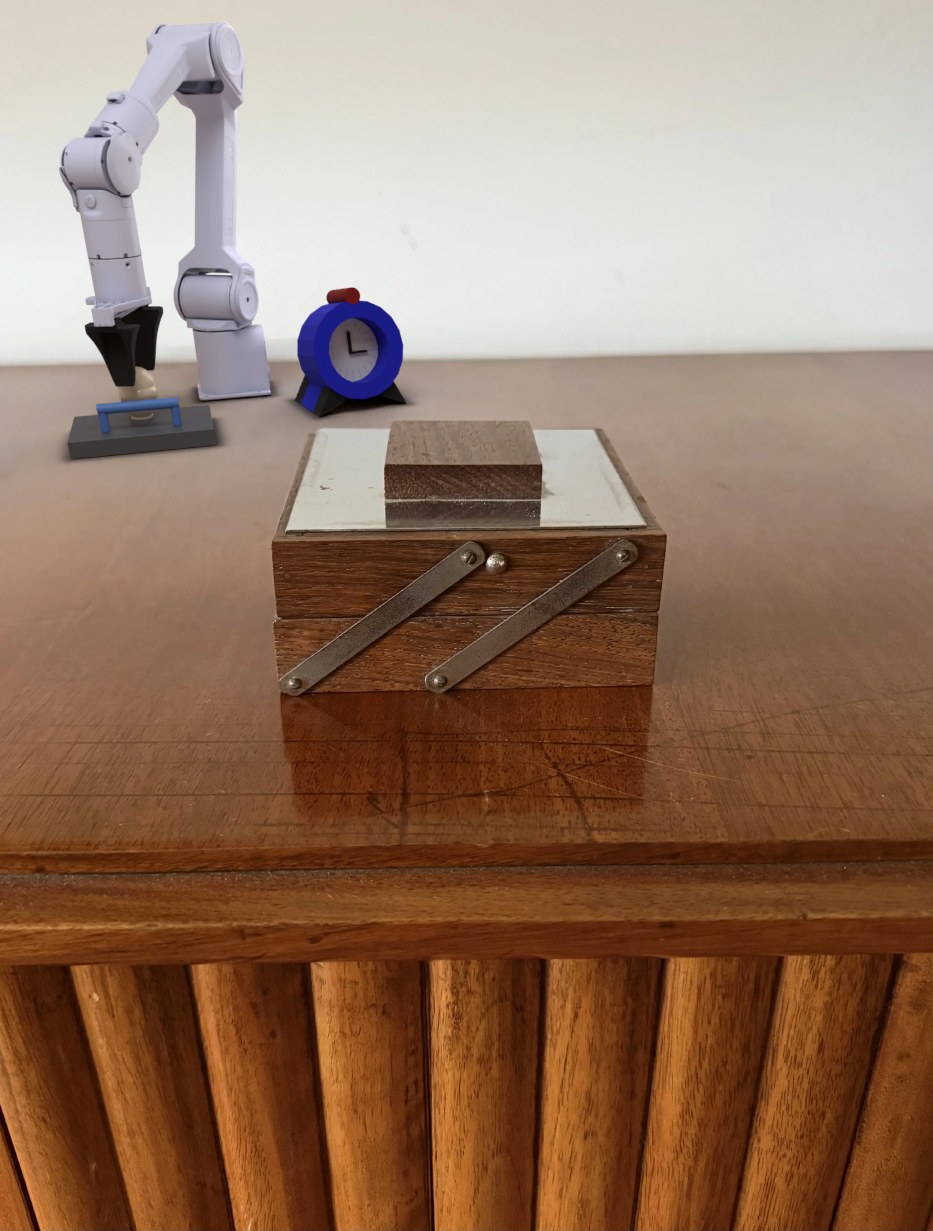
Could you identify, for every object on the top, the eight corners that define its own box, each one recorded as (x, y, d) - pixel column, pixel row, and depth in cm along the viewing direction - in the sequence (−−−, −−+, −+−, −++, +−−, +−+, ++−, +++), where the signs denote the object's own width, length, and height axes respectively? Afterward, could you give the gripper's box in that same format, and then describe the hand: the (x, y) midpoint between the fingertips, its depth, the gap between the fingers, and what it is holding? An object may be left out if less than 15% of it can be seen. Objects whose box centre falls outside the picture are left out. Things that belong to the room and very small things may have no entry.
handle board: (211, 420, 124) (205, 378, 122) (216, 445, 114) (210, 400, 112) (77, 432, 120) (68, 390, 118) (70, 459, 111) (61, 413, 108)
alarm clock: (321, 418, 124) (310, 294, 117) (289, 396, 133) (278, 280, 127) (409, 405, 129) (404, 285, 122) (373, 384, 138) (366, 272, 132)
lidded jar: (150, 409, 121) (142, 360, 119) (167, 416, 118) (159, 366, 116) (116, 416, 119) (107, 366, 116) (133, 424, 116) (124, 373, 113)
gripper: (101, 248, 117) (122, 363, 123) (54, 265, 104) (79, 393, 110) (160, 247, 117) (178, 363, 123) (120, 264, 104) (142, 392, 110)
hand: (135, 377), depth 116 cm, fingers open, 7 cm apart
